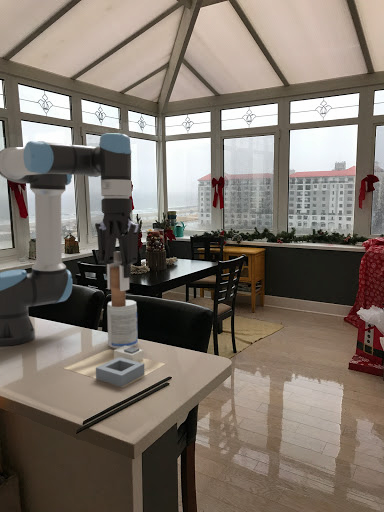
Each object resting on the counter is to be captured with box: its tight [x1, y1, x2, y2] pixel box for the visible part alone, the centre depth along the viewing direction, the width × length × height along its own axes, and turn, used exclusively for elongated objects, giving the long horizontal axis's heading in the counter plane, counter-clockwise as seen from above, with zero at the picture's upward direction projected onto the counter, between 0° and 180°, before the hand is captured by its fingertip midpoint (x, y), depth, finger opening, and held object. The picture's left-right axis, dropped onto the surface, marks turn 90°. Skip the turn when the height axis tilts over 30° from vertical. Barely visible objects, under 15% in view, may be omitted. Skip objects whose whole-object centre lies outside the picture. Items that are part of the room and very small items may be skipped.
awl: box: [110, 250, 127, 307], centre depth 106 cm, size 4×4×14 cm
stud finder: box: [113, 345, 144, 362], centre depth 121 cm, size 7×5×4 cm
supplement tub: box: [106, 299, 139, 349], centre depth 134 cm, size 10×10×15 cm
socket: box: [95, 357, 144, 388], centre depth 109 cm, size 9×9×3 cm
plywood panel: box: [63, 348, 166, 388], centre depth 116 cm, size 22×18×1 cm
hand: (118, 289), depth 106 cm, fingers closed on awl, 3 cm apart
